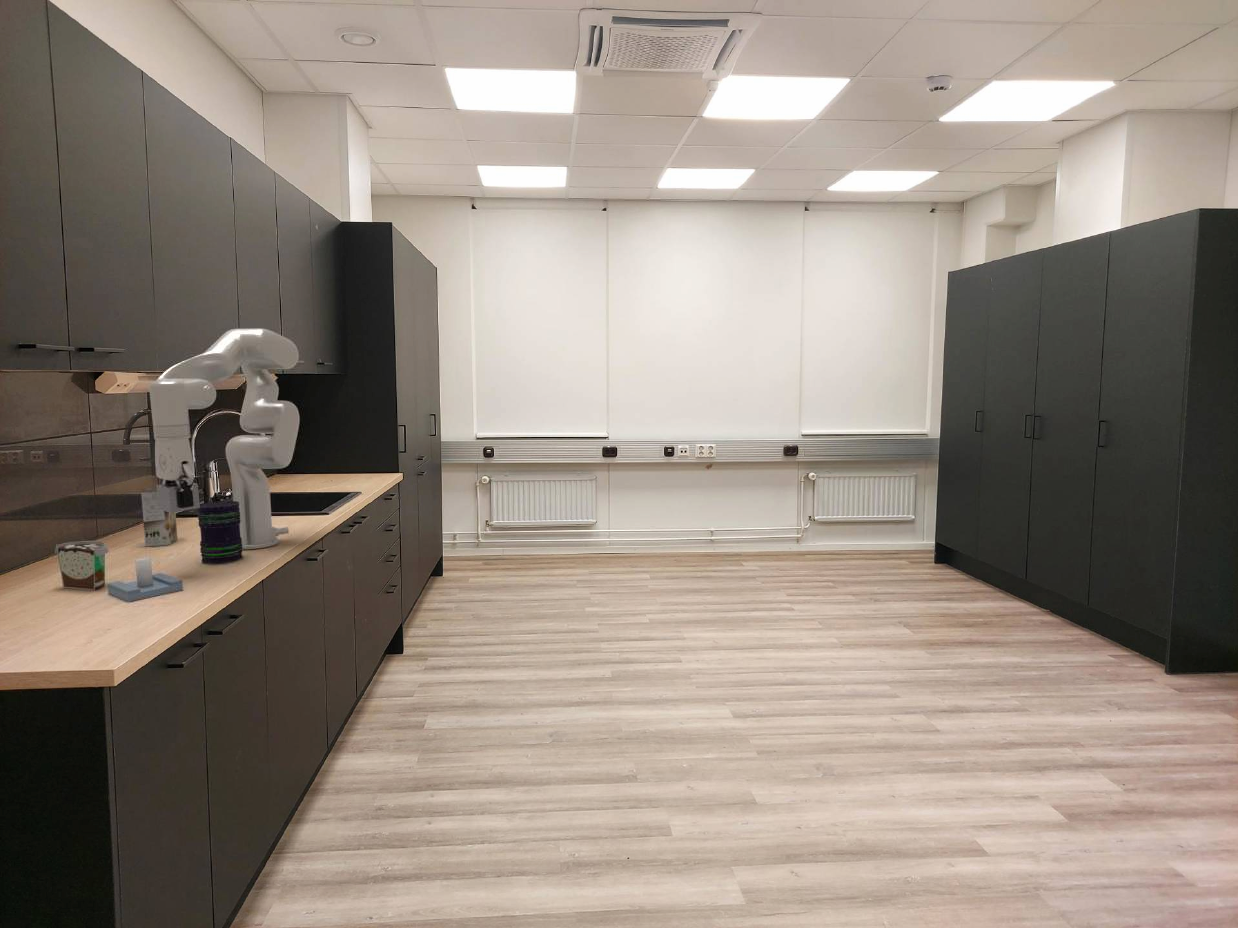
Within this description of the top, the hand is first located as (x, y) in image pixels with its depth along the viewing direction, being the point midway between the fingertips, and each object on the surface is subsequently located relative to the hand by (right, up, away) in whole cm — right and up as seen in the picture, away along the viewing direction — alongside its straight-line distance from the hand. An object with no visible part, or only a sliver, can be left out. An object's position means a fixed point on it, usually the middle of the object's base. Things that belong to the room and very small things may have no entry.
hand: (179, 504), depth 183 cm
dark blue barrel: (+2, -16, +16) cm, 22 cm away
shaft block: (+1, -19, -14) cm, 23 cm away
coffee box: (-27, -13, +37) cm, 48 cm away
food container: (-16, -19, -8) cm, 26 cm away
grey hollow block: (0, -1, 0) cm, 1 cm away
